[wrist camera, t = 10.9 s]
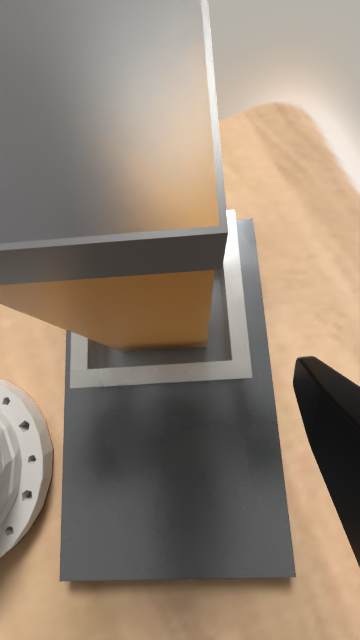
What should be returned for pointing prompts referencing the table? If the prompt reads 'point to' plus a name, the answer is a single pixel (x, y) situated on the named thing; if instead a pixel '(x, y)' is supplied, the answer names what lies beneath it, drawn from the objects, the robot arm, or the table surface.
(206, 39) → the capped orange pillar
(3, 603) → the table surface
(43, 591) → the table surface
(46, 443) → the mechanical component
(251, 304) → the grey socket base plate
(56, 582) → the table surface
